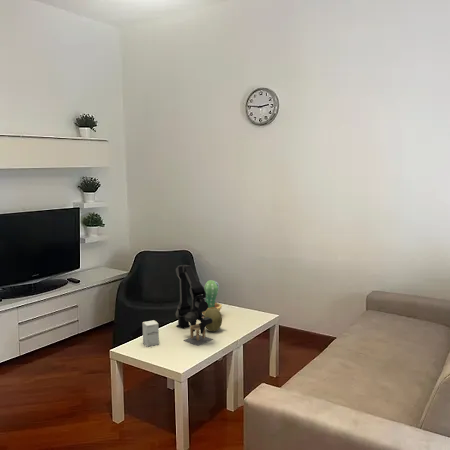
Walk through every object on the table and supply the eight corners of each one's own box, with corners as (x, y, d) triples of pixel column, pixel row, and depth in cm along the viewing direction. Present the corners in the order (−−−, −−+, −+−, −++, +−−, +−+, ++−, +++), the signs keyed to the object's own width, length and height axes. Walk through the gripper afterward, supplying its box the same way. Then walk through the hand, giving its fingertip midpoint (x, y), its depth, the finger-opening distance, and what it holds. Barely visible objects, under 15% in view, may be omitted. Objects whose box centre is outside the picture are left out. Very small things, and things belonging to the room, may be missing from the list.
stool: (190, 337, 275) (190, 326, 274) (197, 335, 279) (197, 323, 279) (197, 340, 271) (197, 328, 270) (205, 337, 275) (204, 325, 275)
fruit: (225, 331, 290) (225, 307, 288) (211, 335, 283) (211, 311, 281) (214, 326, 299) (213, 303, 297) (200, 330, 291) (199, 307, 290)
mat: (183, 340, 275) (183, 340, 275) (198, 335, 284) (198, 334, 284) (198, 345, 267) (198, 345, 267) (212, 339, 276) (212, 339, 276)
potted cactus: (224, 319, 311) (224, 282, 308) (201, 322, 307) (201, 284, 304) (219, 312, 326) (218, 277, 323) (197, 314, 322) (196, 278, 319)
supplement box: (146, 347, 266) (146, 325, 265) (142, 342, 273) (142, 321, 271) (159, 344, 270) (158, 323, 268) (155, 340, 276) (154, 319, 274)
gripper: (175, 306, 273) (176, 332, 275) (198, 313, 261) (199, 340, 263) (189, 302, 281) (190, 327, 283) (212, 308, 269) (213, 334, 271)
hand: (197, 332), depth 275 cm, fingers closed on stool, 6 cm apart
